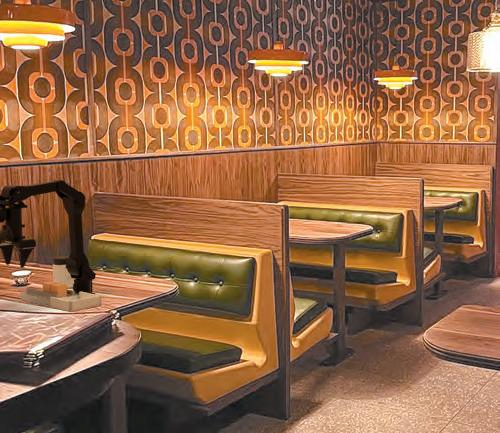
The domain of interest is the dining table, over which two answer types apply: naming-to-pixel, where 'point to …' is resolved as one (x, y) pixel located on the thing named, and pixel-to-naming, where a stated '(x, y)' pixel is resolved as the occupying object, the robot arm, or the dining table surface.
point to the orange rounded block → (48, 286)
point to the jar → (61, 271)
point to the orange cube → (59, 289)
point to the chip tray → (76, 302)
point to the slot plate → (45, 296)
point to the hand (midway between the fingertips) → (15, 266)
